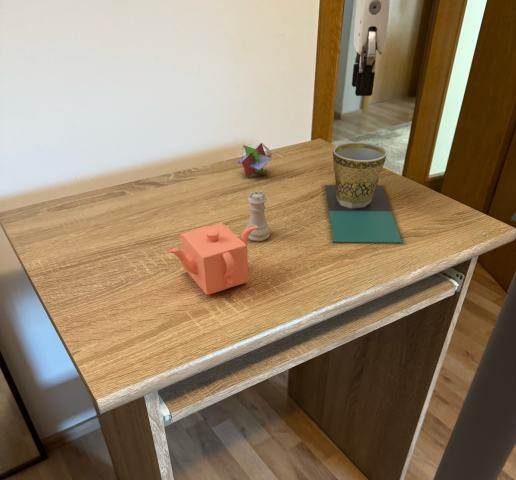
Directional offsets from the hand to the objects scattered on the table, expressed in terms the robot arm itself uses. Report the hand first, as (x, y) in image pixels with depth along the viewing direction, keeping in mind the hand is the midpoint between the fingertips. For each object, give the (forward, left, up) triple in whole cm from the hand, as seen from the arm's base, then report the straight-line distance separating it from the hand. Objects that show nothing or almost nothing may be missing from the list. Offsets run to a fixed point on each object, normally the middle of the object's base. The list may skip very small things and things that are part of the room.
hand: (361, 89), depth 96 cm
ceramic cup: (0, +12, -18) cm, 21 cm away
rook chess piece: (+19, +27, -18) cm, 38 cm away
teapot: (+25, +41, -18) cm, 51 cm away
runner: (0, +17, -18) cm, 24 cm away
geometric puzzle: (+21, -1, -18) cm, 28 cm away
